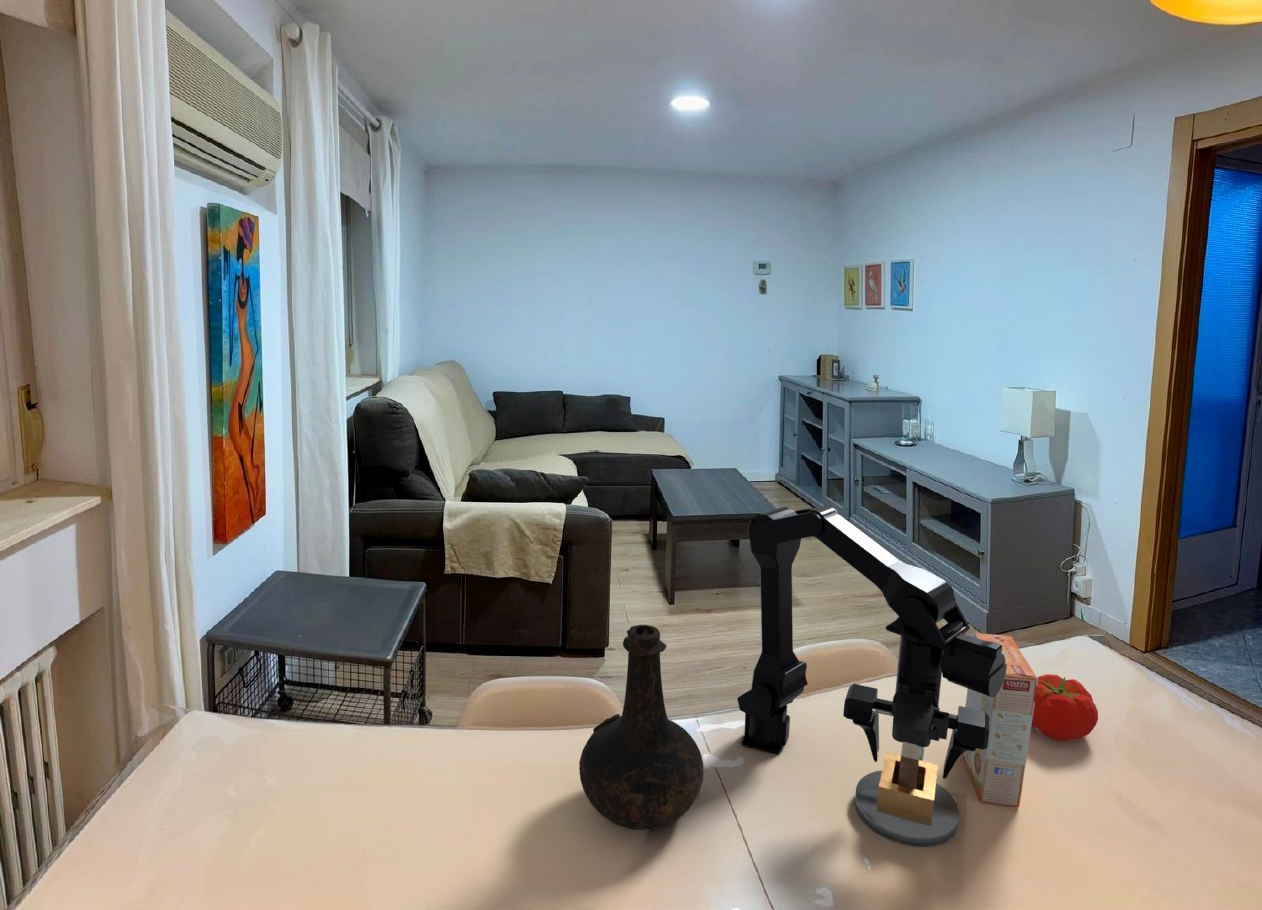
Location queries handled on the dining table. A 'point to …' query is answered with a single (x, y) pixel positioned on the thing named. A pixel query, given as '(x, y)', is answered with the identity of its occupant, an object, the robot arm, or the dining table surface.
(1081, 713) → the tomato
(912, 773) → the block
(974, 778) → the cracker box
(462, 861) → the dining table surface
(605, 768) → the glass bottle
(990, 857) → the dining table surface
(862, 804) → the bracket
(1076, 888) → the dining table surface
